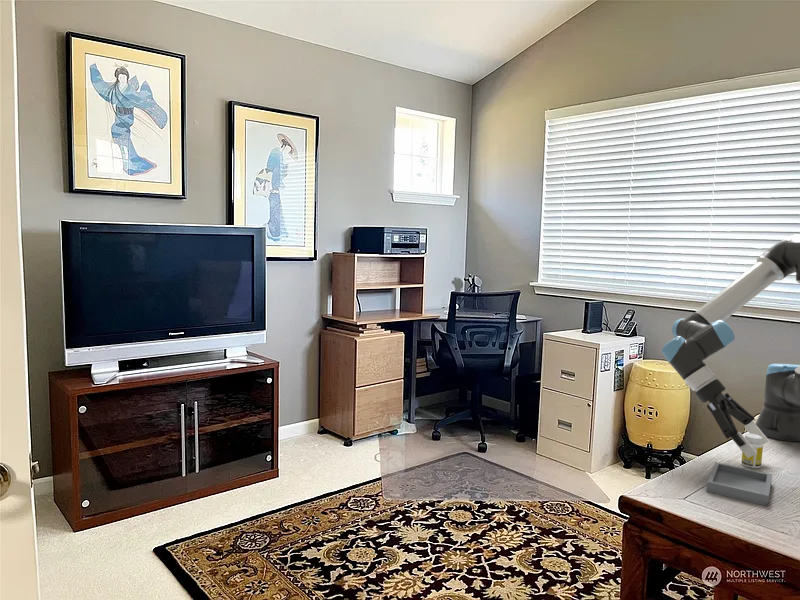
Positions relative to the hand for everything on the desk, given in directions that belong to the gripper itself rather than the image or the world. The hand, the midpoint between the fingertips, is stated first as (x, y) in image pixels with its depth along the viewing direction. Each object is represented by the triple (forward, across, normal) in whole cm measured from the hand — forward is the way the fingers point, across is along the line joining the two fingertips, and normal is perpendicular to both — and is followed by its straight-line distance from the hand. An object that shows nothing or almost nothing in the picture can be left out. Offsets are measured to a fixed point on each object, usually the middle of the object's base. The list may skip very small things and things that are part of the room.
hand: (759, 449), depth 163 cm
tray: (+4, +19, -3) cm, 20 cm away
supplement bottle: (+3, 0, -5) cm, 5 cm away
